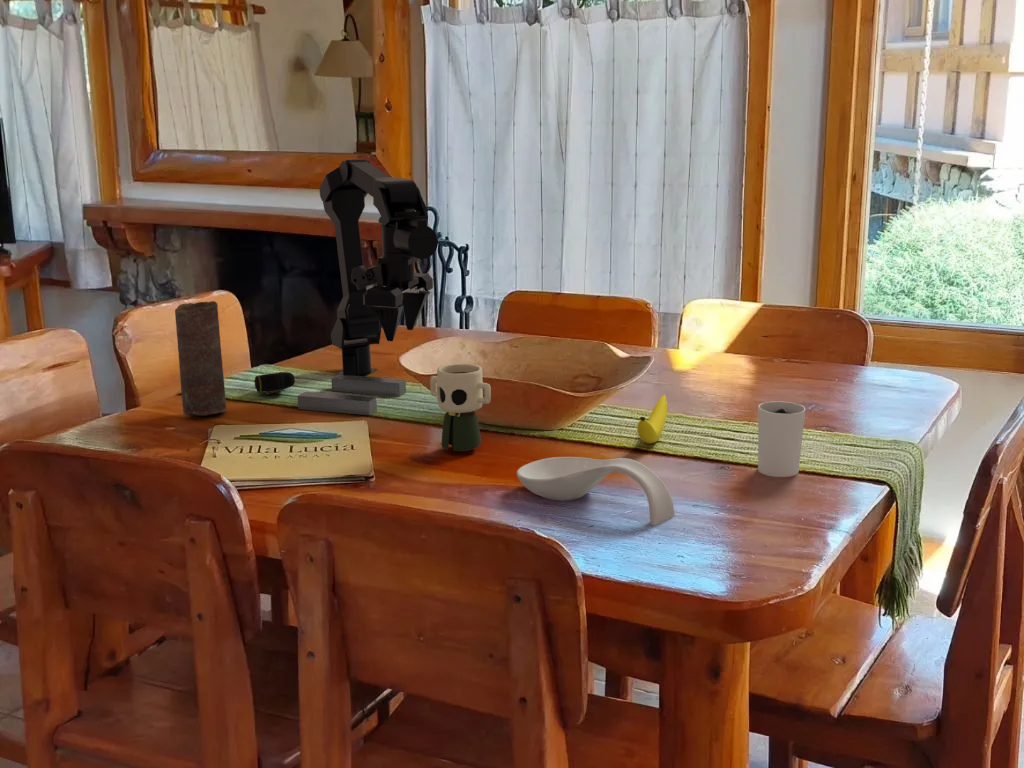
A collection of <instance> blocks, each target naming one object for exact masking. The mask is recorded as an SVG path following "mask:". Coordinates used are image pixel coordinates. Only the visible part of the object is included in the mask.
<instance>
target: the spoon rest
mask: <svg viewBox="0 0 1024 768" xmlns="http://www.w3.org/2000/svg"><path fill="white" fill-rule="evenodd" d="M615 473H621V474H624V475H626V476H628V477H630V478H631V479H632V480H634V481H635V482H636V483H638V485H639V486H640V487H641V488H642V490H643V492H644V493H645V495H646V498H647V503H648V509H649V510H648V511H649V524H650V525H651V526H657V525H659V524H662V523H664V522H666V521H668V520H670V519H671V518H674V517H675V508H674V507H675V506H674V502H673V499H672V495H671V494H670V491H669V490H668V488H667V486H666V485H665V483H664V482H663V480H662V479H661V478H660V477H659V476H658V475H657V474H656V473H655V472H654V471H652V469H650V468H649V467H647V466H646V465H644V464H643V463H642V462H639V461H637V460H634V459H631V458H627V457H626V458H624V457H617V458H610V459H597V458H596V459H595V458H590V457H589V458H588V457H582V456H556V457H546V458H542V459H538V460H535V461H531V462H529V463H527V464H523V465H522V466H521V467H519V468H518V469H517V471H516V476H517V478H518V480H519V481H520V483H521V484H522V485H523V486H524V487H525V488H526V490H528V491H530V492H531V493H532V494H535V495H537V496H540V497H542V498H544V499H546V500H547V499H548V500H551V501H552V500H553V501H573V500H577V499H580V498H582V497H584V496H585V495H586V494H588V493H589V492H591V491H592V490H593V489H595V488H596V487H597V486H598V485H599V484H600V483H601V482H602V481H603V480H604V479H605V478H606V477H608V476H609V475H610V474H615Z"/></svg>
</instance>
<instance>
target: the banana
mask: <svg viewBox="0 0 1024 768" xmlns="http://www.w3.org/2000/svg"><path fill="white" fill-rule="evenodd" d="M667 417H668V404H667V396H666V394H662V396H660V398H659V399H658V400H657V401H656V403H655V404H654V407H653V409H652V411H651V413H650V415H649V418H648V419H646V416H640V417H639V421H638V423H637V427H636V430H637V434H638V437H639V439H640V440H641V441H642V442H644V443H646V444H649V445H650V444H653V443H656V442H658V441H659V440H660V437H662V433H663V430H664V427H665V425H666V422H667Z"/></svg>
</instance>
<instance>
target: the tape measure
mask: <svg viewBox="0 0 1024 768" xmlns="http://www.w3.org/2000/svg"><path fill="white" fill-rule="evenodd" d="M295 378H296V377H295V375H294V374H293V373H292V372H288V371H279V372H273V373H266V374H259V375H255V377H254V382H253V383H254V387H255V390H256V391H257V392H258V393H265V395H271V394H273V393H275V392H279V391H282V392H285V390H286V389H289V388H292V387H293V386H294V385H295V382H296V380H295Z"/></svg>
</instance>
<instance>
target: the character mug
mask: <svg viewBox="0 0 1024 768" xmlns="http://www.w3.org/2000/svg"><path fill="white" fill-rule="evenodd" d="M436 374H437V375H432V376H430V379H429V383H430V384H429V385H430V395H431V396H433V397H436V401H437V405H438V407H439V408H440V410H441V411H443V412H445V414H444V417H443V420H442V421H443V422H442V432H441V444H440V445H441V447H442V449H445V450H447V451H448V450H449V446H451V447H452V451H453V452H466V451H467V452H468V451H472V450H473V451H474V449H476V448H478V447H479V446H480V445H482V439H481V431H480V425H479V419H478V415H477V413H476V411H478V410H479V409H481V408H482V407H483V404H485V405H488V404H491V400H492V399H491V398H492V397H491V394H492V393H491V390H492V389H491V385H490V384H489V383H487V382H484V381H483V379H484V378H483V367H482V366H480V365H477V364H473V363H453V364H451V363H450V364H446V365H445V364H444V365H441V366H439V367H437V372H436ZM483 390H484V391H483ZM483 395H484V396H483Z"/></svg>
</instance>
